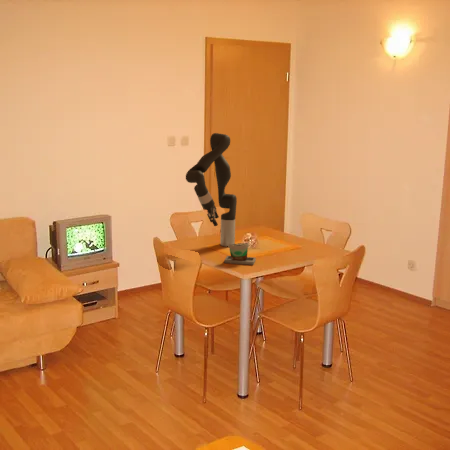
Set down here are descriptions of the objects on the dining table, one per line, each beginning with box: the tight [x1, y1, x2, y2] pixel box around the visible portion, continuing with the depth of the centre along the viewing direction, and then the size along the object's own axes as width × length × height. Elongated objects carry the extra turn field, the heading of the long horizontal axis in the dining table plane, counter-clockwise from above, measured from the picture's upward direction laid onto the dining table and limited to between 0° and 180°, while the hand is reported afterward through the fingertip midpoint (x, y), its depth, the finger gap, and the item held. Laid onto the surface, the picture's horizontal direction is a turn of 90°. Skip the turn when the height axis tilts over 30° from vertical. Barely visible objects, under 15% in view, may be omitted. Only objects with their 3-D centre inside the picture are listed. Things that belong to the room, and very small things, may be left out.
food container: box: [227, 242, 250, 261], centre depth 357 cm, size 12×6×10 cm, turn 97°
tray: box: [223, 255, 257, 266], centre depth 359 cm, size 10×17×2 cm, turn 80°
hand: (216, 221), depth 367 cm, fingers open, 8 cm apart
